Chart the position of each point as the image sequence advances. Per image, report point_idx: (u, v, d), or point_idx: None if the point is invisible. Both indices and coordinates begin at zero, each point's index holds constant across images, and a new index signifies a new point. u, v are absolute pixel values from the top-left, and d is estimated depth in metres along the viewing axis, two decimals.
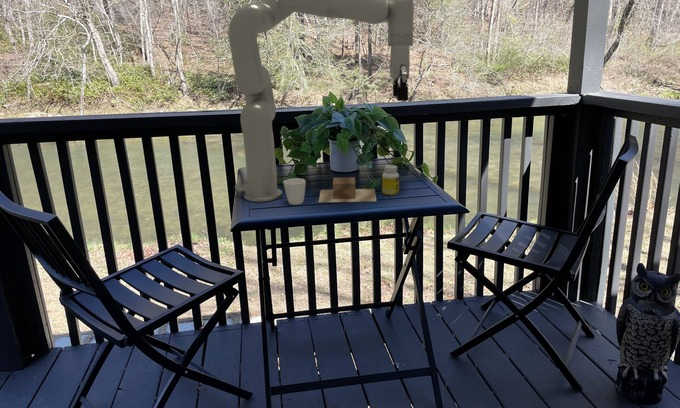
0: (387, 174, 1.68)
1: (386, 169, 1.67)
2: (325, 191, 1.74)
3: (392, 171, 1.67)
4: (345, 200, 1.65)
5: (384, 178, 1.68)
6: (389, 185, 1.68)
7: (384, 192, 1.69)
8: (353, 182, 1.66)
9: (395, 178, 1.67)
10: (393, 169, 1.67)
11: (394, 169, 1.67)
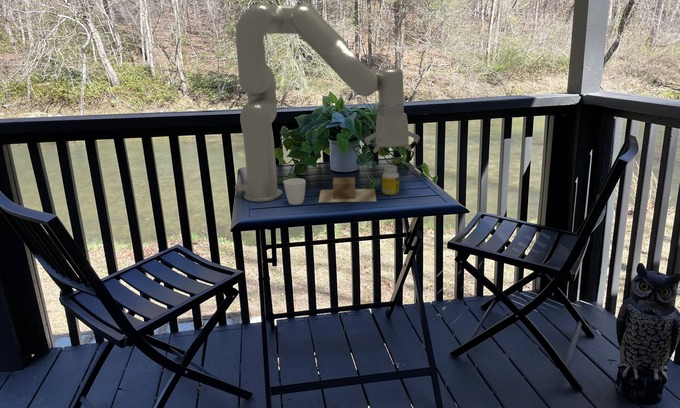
0: (387, 174, 1.68)
1: (386, 169, 1.67)
2: (325, 191, 1.74)
3: (392, 171, 1.67)
4: (345, 200, 1.65)
5: (384, 178, 1.68)
6: (389, 185, 1.68)
7: (384, 192, 1.69)
8: (353, 182, 1.66)
9: (395, 178, 1.67)
10: (393, 169, 1.67)
11: (394, 169, 1.67)
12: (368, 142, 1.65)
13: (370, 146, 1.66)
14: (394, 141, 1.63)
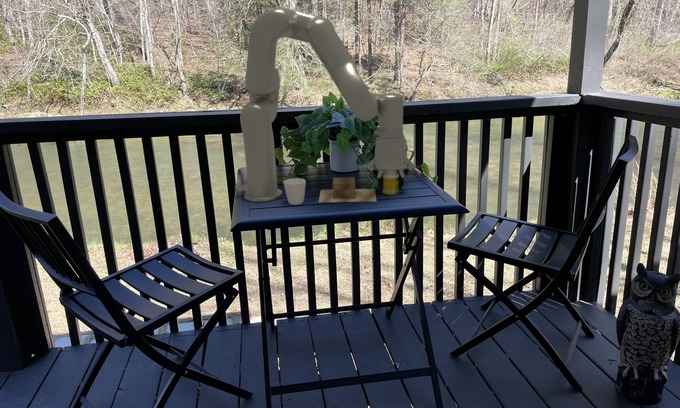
0: (387, 174, 1.68)
1: None
2: (325, 191, 1.74)
3: (392, 171, 1.67)
4: (345, 200, 1.65)
5: (384, 177, 1.68)
6: (389, 185, 1.68)
7: (384, 192, 1.69)
8: (353, 182, 1.66)
9: (395, 178, 1.67)
10: None
11: None
12: (371, 168, 1.68)
13: (374, 171, 1.68)
14: (393, 164, 1.65)
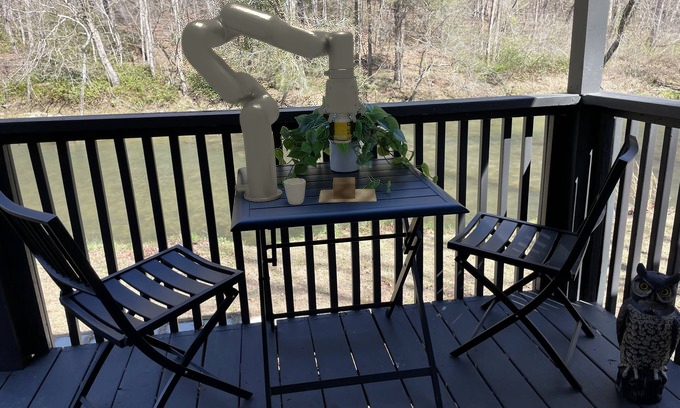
0: (338, 118, 1.60)
1: None
2: (325, 191, 1.74)
3: (343, 115, 1.60)
4: (345, 200, 1.65)
5: (335, 122, 1.60)
6: (340, 130, 1.60)
7: (335, 137, 1.62)
8: (353, 182, 1.66)
9: (346, 122, 1.60)
10: None
11: None
12: (322, 112, 1.61)
13: (325, 115, 1.61)
14: (343, 107, 1.58)
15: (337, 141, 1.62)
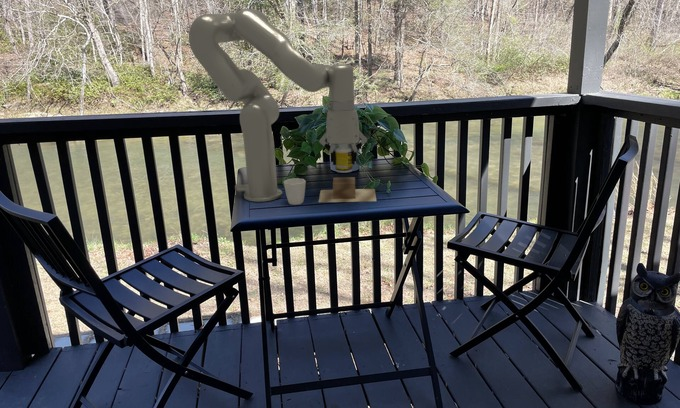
0: (339, 148, 1.63)
1: None
2: (325, 191, 1.74)
3: (344, 145, 1.63)
4: (345, 200, 1.65)
5: (336, 152, 1.63)
6: (341, 160, 1.63)
7: (337, 167, 1.65)
8: (353, 182, 1.66)
9: (347, 152, 1.63)
10: None
11: None
12: (323, 143, 1.64)
13: (326, 146, 1.64)
14: (344, 138, 1.61)
15: (339, 171, 1.65)
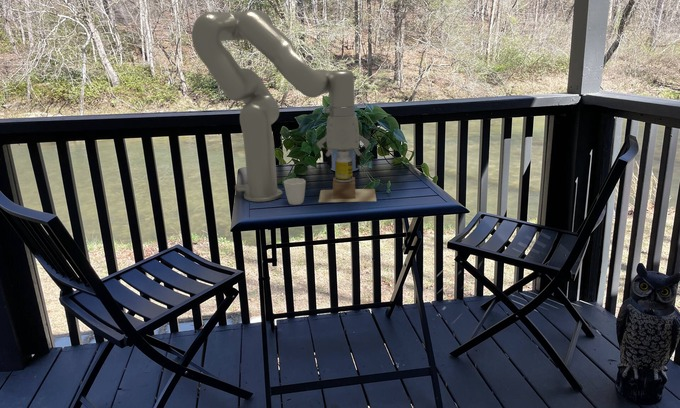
0: (339, 158, 1.64)
1: (338, 153, 1.64)
2: (325, 191, 1.74)
3: (344, 155, 1.64)
4: (345, 200, 1.65)
5: (337, 162, 1.65)
6: (341, 169, 1.64)
7: (337, 177, 1.66)
8: (353, 182, 1.66)
9: (348, 162, 1.64)
10: (345, 153, 1.63)
11: (346, 153, 1.64)
12: (320, 146, 1.64)
13: (323, 150, 1.64)
14: (344, 144, 1.61)
15: (339, 180, 1.66)
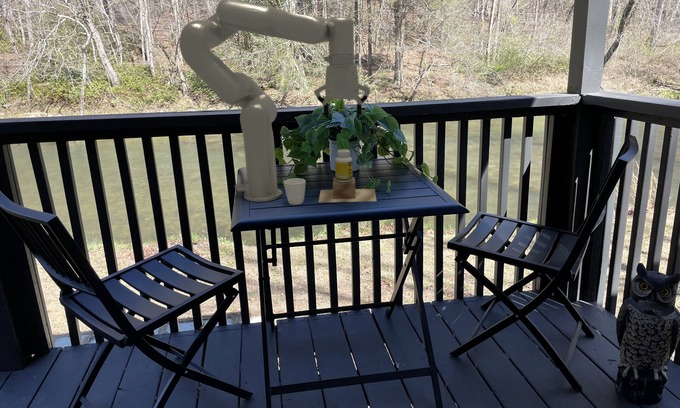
0: (339, 158, 1.64)
1: (338, 153, 1.64)
2: (325, 191, 1.74)
3: (344, 155, 1.64)
4: (345, 200, 1.65)
5: (336, 162, 1.64)
6: (341, 170, 1.64)
7: (337, 177, 1.66)
8: (353, 182, 1.66)
9: (348, 162, 1.64)
10: (345, 153, 1.63)
11: (346, 153, 1.64)
12: (317, 94, 1.62)
13: (319, 98, 1.62)
14: (343, 93, 1.59)
15: (339, 180, 1.66)
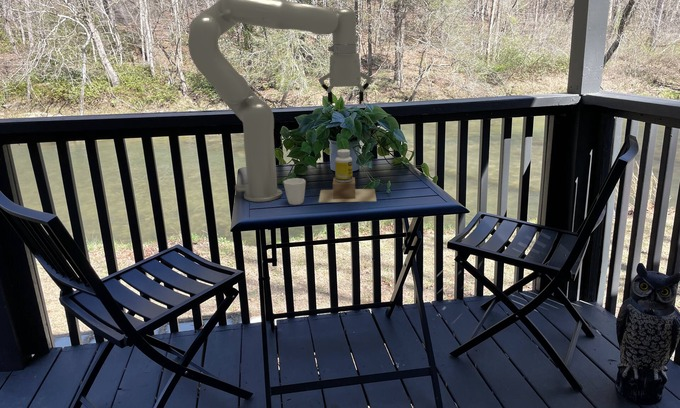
0: (339, 158, 1.64)
1: (338, 153, 1.64)
2: (325, 191, 1.74)
3: (344, 155, 1.64)
4: (345, 200, 1.65)
5: (336, 162, 1.64)
6: (341, 170, 1.64)
7: (337, 177, 1.66)
8: (353, 182, 1.66)
9: (348, 162, 1.64)
10: (345, 153, 1.63)
11: (346, 153, 1.64)
12: (322, 82, 1.72)
13: (324, 86, 1.72)
14: (346, 81, 1.69)
15: (339, 180, 1.66)
